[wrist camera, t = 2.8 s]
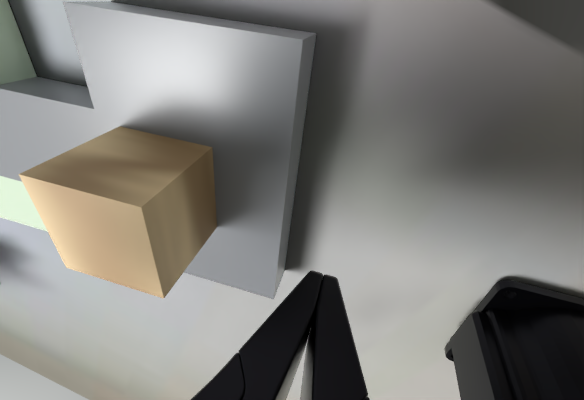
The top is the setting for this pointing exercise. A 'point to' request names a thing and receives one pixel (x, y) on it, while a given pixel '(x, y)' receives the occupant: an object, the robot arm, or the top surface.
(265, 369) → the robot arm
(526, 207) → the top surface
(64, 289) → the top surface
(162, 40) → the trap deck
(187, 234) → the maple block
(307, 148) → the top surface
